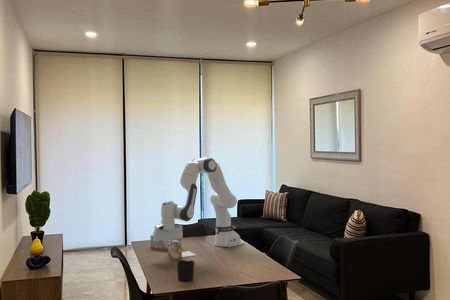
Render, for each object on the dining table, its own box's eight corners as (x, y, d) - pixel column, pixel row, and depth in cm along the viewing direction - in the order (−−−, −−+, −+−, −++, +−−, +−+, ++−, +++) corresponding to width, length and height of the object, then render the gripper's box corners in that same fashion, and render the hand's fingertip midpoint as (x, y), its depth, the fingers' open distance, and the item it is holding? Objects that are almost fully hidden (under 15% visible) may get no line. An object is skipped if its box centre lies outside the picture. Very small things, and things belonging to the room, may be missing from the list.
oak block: (175, 254, 299) (174, 239, 298) (181, 257, 288) (181, 242, 288) (168, 254, 296) (168, 240, 296) (174, 258, 286) (174, 243, 285)
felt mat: (188, 251, 304) (188, 251, 304) (196, 255, 293) (196, 254, 293) (175, 253, 299) (175, 252, 299) (182, 257, 288) (182, 256, 288)
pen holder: (187, 276, 248) (187, 258, 248) (197, 279, 241) (197, 262, 241) (173, 279, 242) (173, 261, 242) (183, 283, 235) (183, 265, 235)
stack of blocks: (150, 248, 315) (150, 231, 315) (153, 246, 322) (153, 229, 321) (178, 249, 312) (178, 232, 312) (181, 247, 318) (181, 230, 318)
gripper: (180, 223, 297) (180, 243, 298) (152, 226, 287) (152, 247, 288) (184, 224, 292) (184, 245, 292) (155, 228, 282) (155, 249, 282)
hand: (168, 246), depth 290 cm, fingers closed
